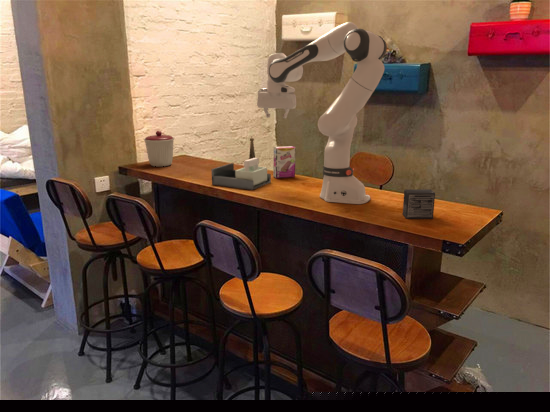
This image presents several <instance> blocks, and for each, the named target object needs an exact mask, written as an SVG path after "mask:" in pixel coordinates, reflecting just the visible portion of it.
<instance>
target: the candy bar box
mask: <svg viewBox="0 0 550 412" xmlns="http://www.w3.org/2000/svg"><path fill="white" fill-rule="evenodd" d="M296 151H297V150H296V146H292V145H288V146H273V163H272V164H273V171H272V172H273V174H272V175H273V178H274V179H283V178H295V176H296Z"/></svg>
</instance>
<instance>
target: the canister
mask: <svg viewBox="0 0 550 412" xmlns="http://www.w3.org/2000/svg"><path fill="white" fill-rule="evenodd" d="M174 140H175V137H173V136H172V135H169V134H163V132H162V131H161V130H157V131H156V132H155V135H148V136H146V137H145V138H143V141H144V143H145V147H146V153H147V158H148V162H149V164H150V165H151V166H152V167H155V166H156V168H159V167H161V168H162V167H163V166H164V167H168V166H169V167H170V166H171V165H172V164H173V158H174Z"/></svg>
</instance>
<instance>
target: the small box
mask: <svg viewBox="0 0 550 412" xmlns="http://www.w3.org/2000/svg"><path fill="white" fill-rule="evenodd" d="M403 190H404V191H403V201H402V202H403V204H402V205H403V206H402V216H403V217H404V219H407V220H433V219H434V210H435V198H436V192H435V191H434V190H432V189H426V188H425V189H424V188H423V189H406V188H405V189H403Z"/></svg>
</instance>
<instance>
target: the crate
mask: <svg viewBox="0 0 550 412" xmlns="http://www.w3.org/2000/svg"><path fill="white" fill-rule="evenodd" d="M259 162H260V159H259V157H255V158H252V159H249V158H248V159H246V160H244V161H243V167H241V168H239V169H234V170H235V175H236V178H237V179H245V180H253V181H254V186H256V185H258V184H261V183H263V182H266V181H267V174H268V167H266V166H259V164H260V163H259Z"/></svg>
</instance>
